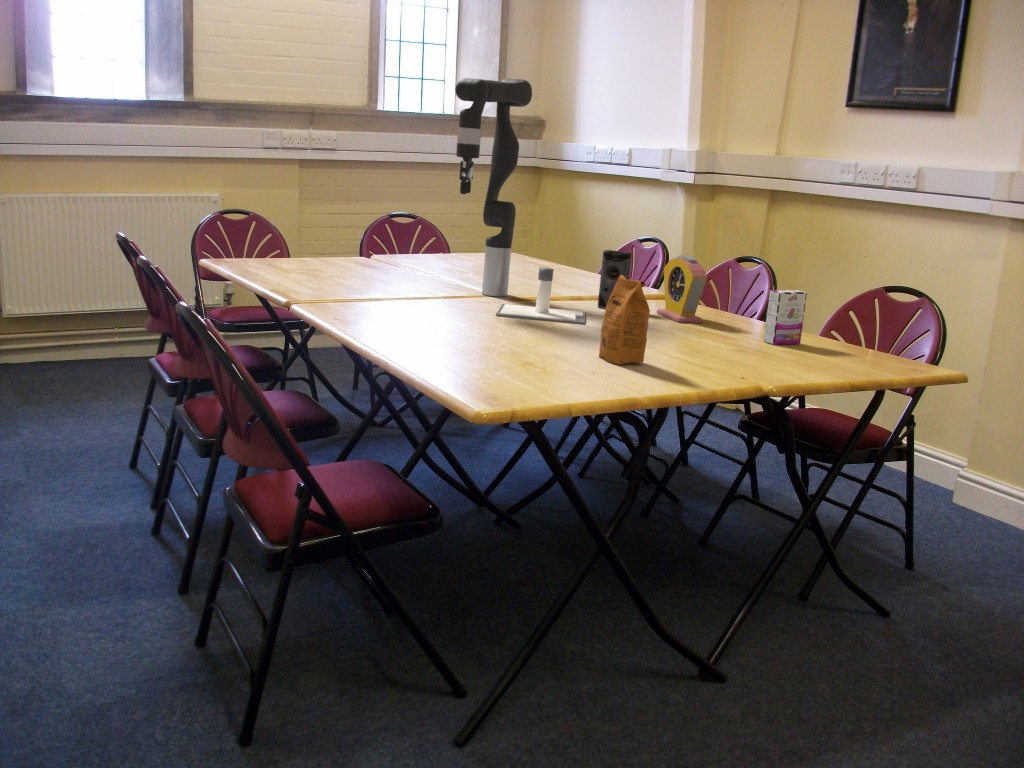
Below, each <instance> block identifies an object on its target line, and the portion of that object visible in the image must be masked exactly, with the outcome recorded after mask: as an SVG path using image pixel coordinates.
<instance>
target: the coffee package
mask: <svg viewBox="0 0 1024 768" xmlns="http://www.w3.org/2000/svg"><path fill="white" fill-rule="evenodd" d="M645 286H646V284H645V282H644V281H643V280H636V279H630V278H629V279H628V280H627V279H626V278H625V277H624V276H623V275H620V276H619V278H618V281H617V283H616V285H615V286H614V289H613V291H612V293H611V295H610V298H609V300H608V303H607V306H606V309H604V315H603V318H602V319H603V320H602V324H601V328H600V343H599V352H598V353H599V354H598V358H602V359H604V360H605V361H606V362H608V363H611V364H615V365H619V366H621V365H622V366H623V365H627V364H638V363H644V360H645V353H646V346H647V341H648V340H647V336H648V335H647V333H648V331H649V330H648V327H649V318H650V311H651V310H650V307H649V303H648V300H647V298H646V296H645V294H644V290H643V287H644V288H645Z"/></svg>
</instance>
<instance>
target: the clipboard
mask: <svg viewBox="0 0 1024 768" xmlns="http://www.w3.org/2000/svg"><path fill="white" fill-rule="evenodd" d="M535 309H536V306H531V305H530V306H529V305H518V304H507V303H502V304H501V306H500V307H499V309H498V310H497V312H496V313H495V316H496V317H502V318H513V319H522V320H523V319H525V320H532V321H533V320H534V321H535V320H536V321H544V322H545V321H546V322H556V323H566V324H574V325H575V324H576V325H585V322H586V311H585V310H584V311H581V310H572V309H564V308H563V309H562V308H561V309H560V308H551V307H549V313H537V312H535Z"/></svg>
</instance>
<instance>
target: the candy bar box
mask: <svg viewBox="0 0 1024 768" xmlns="http://www.w3.org/2000/svg"><path fill="white" fill-rule="evenodd" d="M768 295H769V297H768V302H767V311H766V318H765V319H766V320H765V327H764V333H763V335H764V336H763V343H765V344H768V343H769V345H773V346H781V345H782V346H785V345H786V346H787V345H800V344H801V340H802V332H803V324H804V319H805V317H804V316H805V312H806V303H807V301H806V300H807V295H808V292H807V291H805V290H800V289H799V290H798V289H775V290H774V289H770V290H769V294H768Z"/></svg>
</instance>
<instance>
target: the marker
mask: <svg viewBox="0 0 1024 768" xmlns="http://www.w3.org/2000/svg"><path fill="white" fill-rule="evenodd" d="M553 277H554V268H551V267H539V268H538V277H537V279H538V281H537V289H536V290H537V291H536V299H535V307H536V309H535V312H537V313H549V308H550V304H551V295H552V286H553V279H554V278H553Z"/></svg>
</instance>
